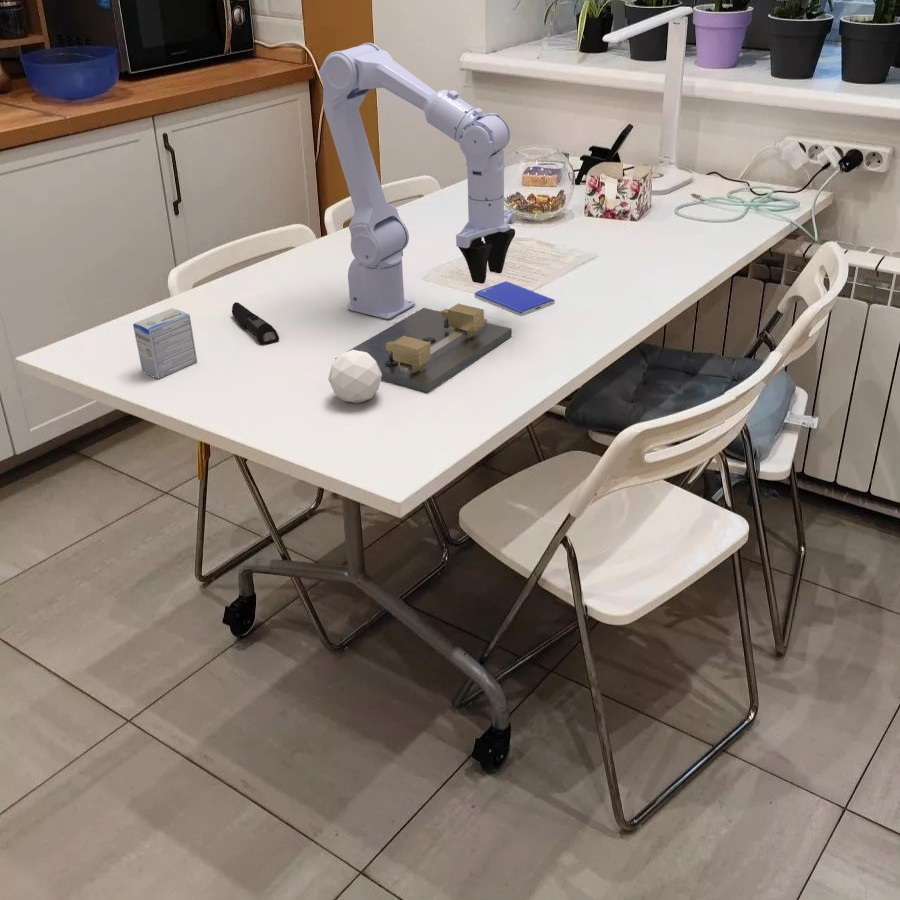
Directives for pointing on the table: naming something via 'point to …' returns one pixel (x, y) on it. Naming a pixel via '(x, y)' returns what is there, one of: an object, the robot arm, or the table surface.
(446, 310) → the block
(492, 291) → the hard drive
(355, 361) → the ball
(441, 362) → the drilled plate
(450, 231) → the table surface
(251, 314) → the electric trimmer
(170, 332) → the medicine box
